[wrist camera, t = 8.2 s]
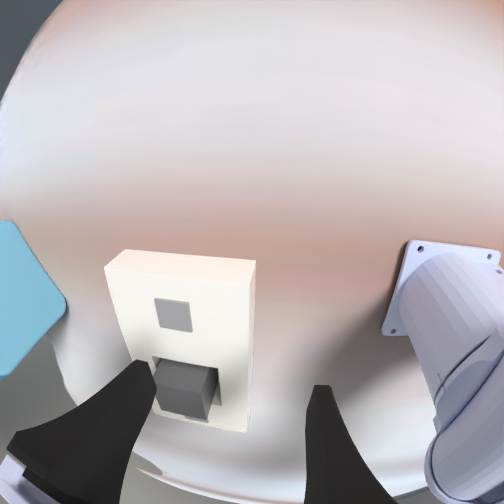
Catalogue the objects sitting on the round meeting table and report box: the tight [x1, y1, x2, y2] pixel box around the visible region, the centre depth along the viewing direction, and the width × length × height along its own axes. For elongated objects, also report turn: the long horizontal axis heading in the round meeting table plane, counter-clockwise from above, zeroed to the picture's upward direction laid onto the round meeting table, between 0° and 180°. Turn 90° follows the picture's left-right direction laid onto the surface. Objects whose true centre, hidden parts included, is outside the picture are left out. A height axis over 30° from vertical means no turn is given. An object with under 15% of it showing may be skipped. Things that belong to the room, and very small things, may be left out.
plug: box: [153, 358, 219, 420], centre depth 21 cm, size 4×4×6 cm
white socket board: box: [104, 249, 256, 432], centre depth 21 cm, size 10×18×3 cm, turn 179°
